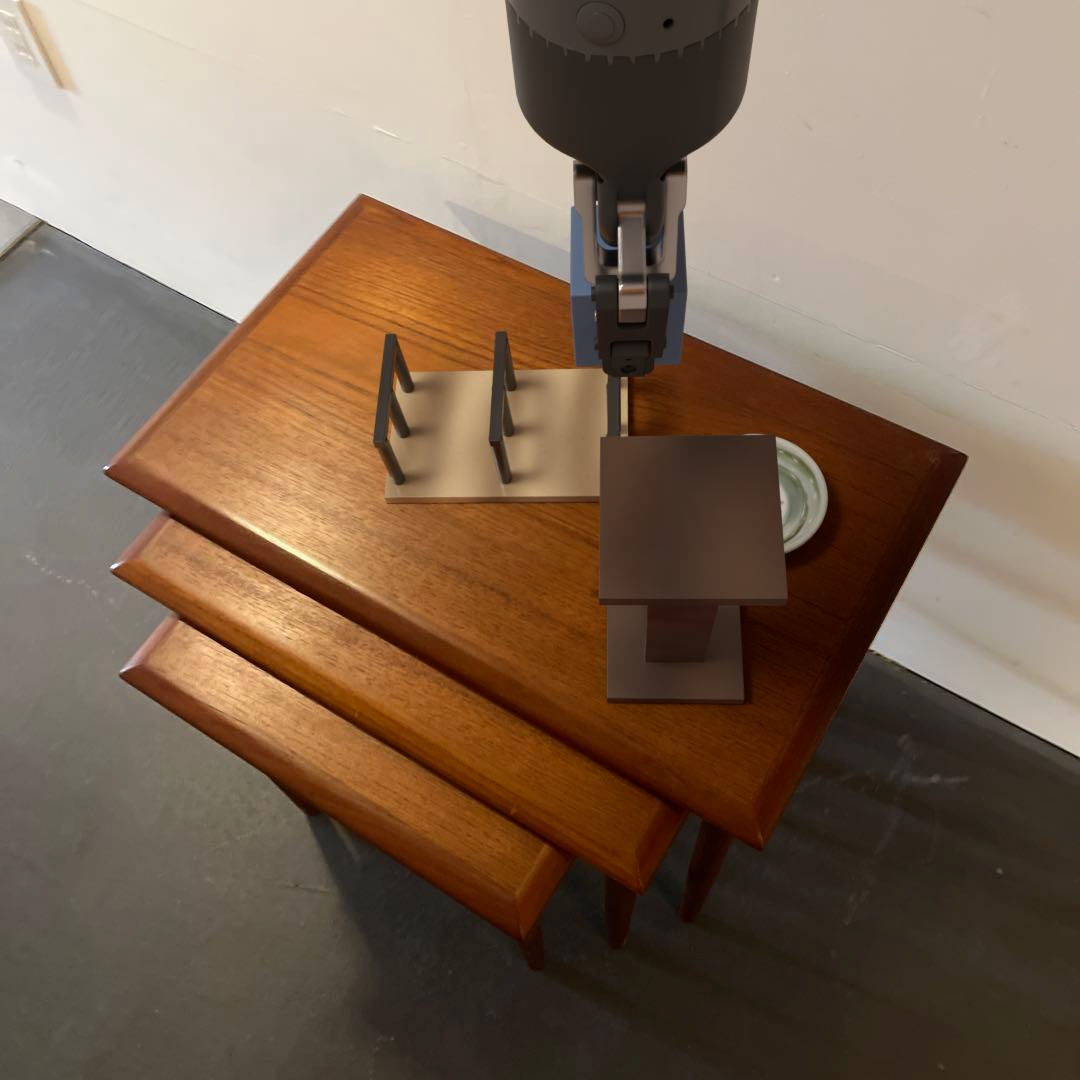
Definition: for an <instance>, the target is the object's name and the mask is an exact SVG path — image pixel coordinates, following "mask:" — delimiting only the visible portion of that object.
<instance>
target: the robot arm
mask: <svg viewBox="0 0 1080 1080" xmlns="http://www.w3.org/2000/svg"><path fill="white" fill-rule="evenodd" d="M759 1H760V0H504V3H505V12H506V20H507V21H506V22H507V30H508V37H509V47H510V55H511V63H512V71H513V80H514V88H515V96H516V100H517V103H518V106H519V109H520V111H521V112H522V115H523V117H524V119H525V120H526V122H527V124H528V125H529V126H530V128H531V129H532V130H533V131H534V132H535V134H536V135H537V136H538V137H539V138H541V139H542V140H543V141H544V142H545V143H546V144H548V145H549V146H550V147H552V148H553V149H555V150H557V151H558V152H560V153H562V154H564V155H566V156H567V157H569V158H571V159H573V160H572V178H573V179H572V181H573V186H572V187H573V206H574V208H575V211H576V213H577V214H578V215H579V216H580V217H581V219H582V237H583V265H584V278H585V280H586V281H587V282H588V283H589V284H591V285H593V286H591V302H594V301H596V309H595V322H597V337H594V350H598V358H599V360H602V366H601V368H603V372H604V373H605V374H608V375H612V378H618V377H628V378H645V377H646V375H649V374H650V373H652V372H654V370H655V365H654V360H655V358H662V356H663V349H665V348H666V328H667V321H668V314H669V307H670V299H674V284H670V281H671V280H672V279H673V278H674V276H675V274H676V258H677V236H678V217H679V214H680V213H681V212H682V211H683V212H684V209H685V208H686V206H687V195H688V168H689V167H688V156H689V155H691V154H692V153H694V152H696V151H697V150H699V149H701V148H703V147H704V146H706V145H707V144H709V143H710V142H711V141H712V140H713V139H715V138H716V137H717V136H719V134H720V133H721V132H722V131H723V130H724V129H725V128H726V127H727V126H728V125H729V124H730V122H731V121H732V120H733V118H734V117H735V115H736V113H737V112H738V111H739V109H740V107H741V104H742V102H743V99H744V97H745V93H746V88H747V83H748V77H749V70H750V65H751V64H750V63H751V57H752V51H753V50H752V49H753V42H754V36H755V29H756V21H757V14H758V6H759ZM596 205H598V224H599V232H600V236H601V238H602V240H603V241H604V242H605V243H606V244H607V245H609V246H611V247H618V249H614V250H608V249H604V248H603V247H601V246H600V245H599V243H598V241H597V218H596ZM661 229H662V236H661V240H660V242H659V243H658V244H657V245H656V246H655V247H652V248H646V246H647V245H650V244H651V243H653V242H654V241H655V240H656V239H657V237H658V235H659V233H660V231H661Z"/></svg>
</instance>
